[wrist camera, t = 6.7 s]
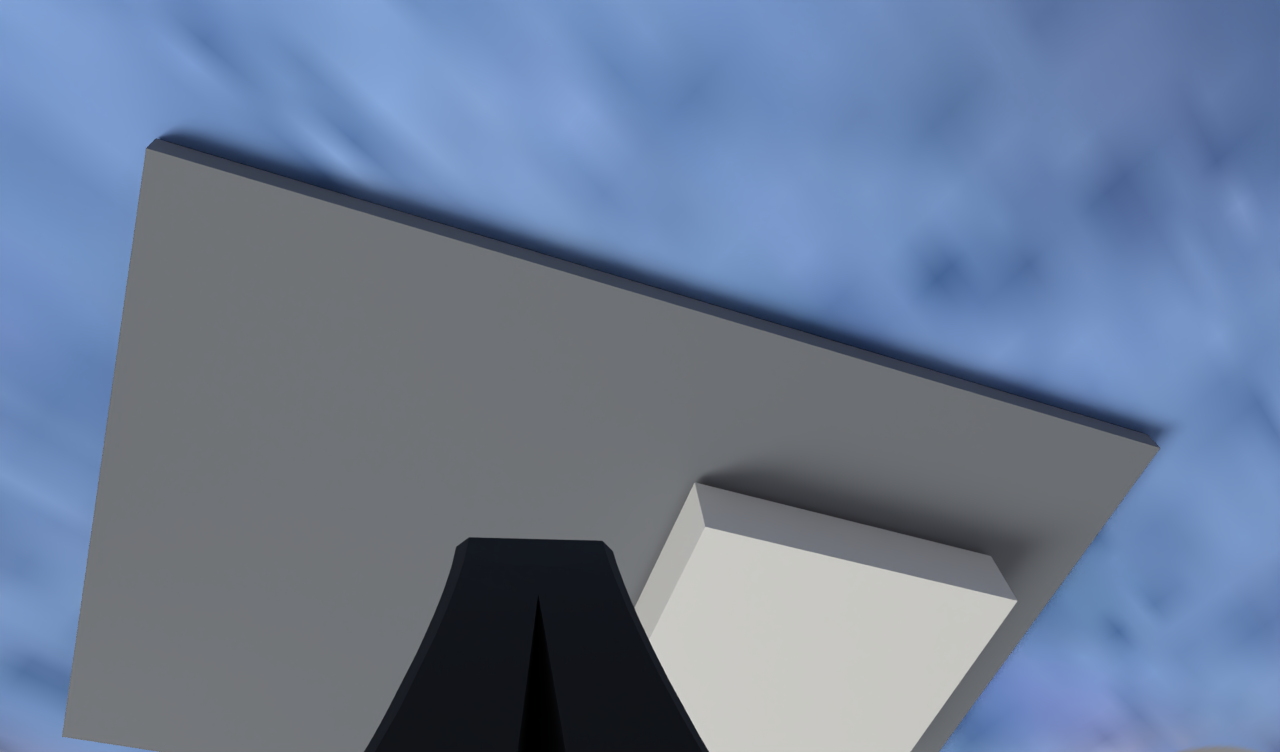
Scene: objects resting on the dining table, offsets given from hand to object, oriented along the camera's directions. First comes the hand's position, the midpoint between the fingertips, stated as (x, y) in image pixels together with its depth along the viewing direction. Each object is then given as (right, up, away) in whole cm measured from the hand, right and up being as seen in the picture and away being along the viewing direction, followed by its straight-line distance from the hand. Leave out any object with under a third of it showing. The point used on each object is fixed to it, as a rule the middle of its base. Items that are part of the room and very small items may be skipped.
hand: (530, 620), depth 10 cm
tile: (+1, -3, +12) cm, 12 cm away
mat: (0, -2, +13) cm, 13 cm away
